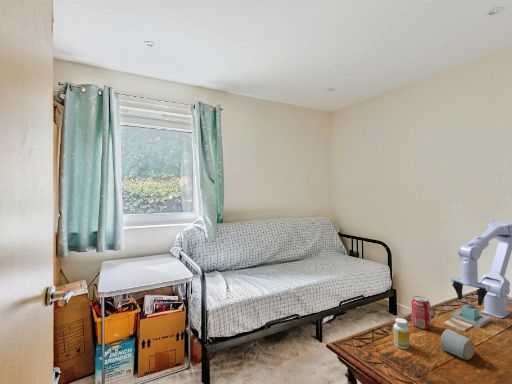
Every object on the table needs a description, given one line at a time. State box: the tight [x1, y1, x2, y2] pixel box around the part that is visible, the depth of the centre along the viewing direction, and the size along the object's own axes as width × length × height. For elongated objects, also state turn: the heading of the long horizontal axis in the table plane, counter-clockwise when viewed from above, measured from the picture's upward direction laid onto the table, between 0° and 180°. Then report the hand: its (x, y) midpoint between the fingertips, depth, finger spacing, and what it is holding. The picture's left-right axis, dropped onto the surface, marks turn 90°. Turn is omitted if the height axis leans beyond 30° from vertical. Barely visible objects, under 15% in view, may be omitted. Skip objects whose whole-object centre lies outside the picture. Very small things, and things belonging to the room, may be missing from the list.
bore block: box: [450, 308, 492, 328], centre depth 124 cm, size 11×11×2 cm
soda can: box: [411, 295, 432, 330], centre depth 119 cm, size 7×7×12 cm
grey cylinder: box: [440, 328, 476, 361], centre depth 99 cm, size 11×8×8 cm
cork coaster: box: [442, 317, 474, 332], centre depth 120 cm, size 8×8×1 cm
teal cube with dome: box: [461, 303, 480, 321], centre depth 124 cm, size 5×5×6 cm
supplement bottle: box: [392, 317, 410, 350], centre depth 105 cm, size 5×5×10 cm
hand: (470, 301), depth 124 cm, fingers open, 7 cm apart
